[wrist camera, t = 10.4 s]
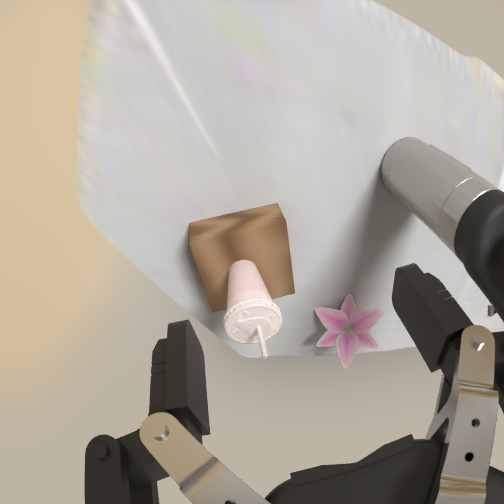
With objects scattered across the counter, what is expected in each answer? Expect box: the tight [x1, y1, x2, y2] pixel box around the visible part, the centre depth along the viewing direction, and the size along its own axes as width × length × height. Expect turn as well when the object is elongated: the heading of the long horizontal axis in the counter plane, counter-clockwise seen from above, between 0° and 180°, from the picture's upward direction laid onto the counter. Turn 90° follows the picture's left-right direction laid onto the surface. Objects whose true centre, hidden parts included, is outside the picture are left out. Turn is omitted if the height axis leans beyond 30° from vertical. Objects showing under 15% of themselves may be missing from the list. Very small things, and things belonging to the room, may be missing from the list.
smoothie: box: [224, 260, 282, 360], centre depth 37 cm, size 6×6×14 cm
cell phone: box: [488, 303, 496, 317], centre depth 68 cm, size 6×11×1 cm, turn 123°
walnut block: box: [189, 203, 295, 312], centre depth 44 cm, size 12×12×5 cm
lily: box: [315, 294, 383, 369], centre depth 55 cm, size 12×12×10 cm
